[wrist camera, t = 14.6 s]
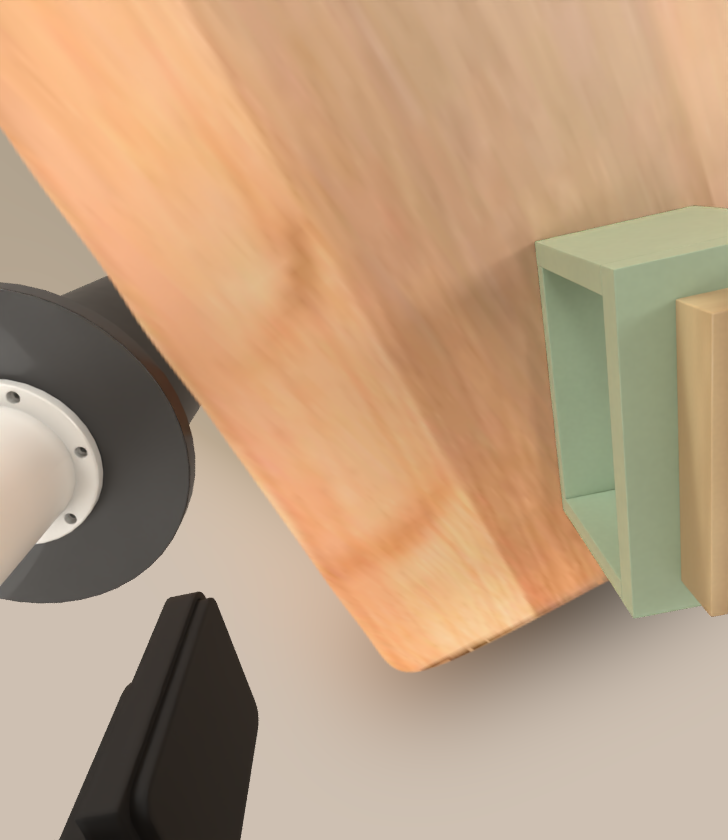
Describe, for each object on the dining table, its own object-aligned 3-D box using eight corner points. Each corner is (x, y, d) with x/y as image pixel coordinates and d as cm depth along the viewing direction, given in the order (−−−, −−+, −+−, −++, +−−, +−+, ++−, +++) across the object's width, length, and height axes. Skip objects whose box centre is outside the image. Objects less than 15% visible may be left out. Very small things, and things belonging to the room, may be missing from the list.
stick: (680, 580, 33) (711, 617, 30) (674, 298, 27) (711, 313, 24) (731, 571, 33) (766, 607, 30) (736, 285, 27) (781, 297, 24)
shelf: (562, 509, 45) (633, 618, 34) (534, 241, 38) (613, 269, 27) (696, 482, 45) (812, 584, 34) (694, 205, 37) (843, 218, 26)
